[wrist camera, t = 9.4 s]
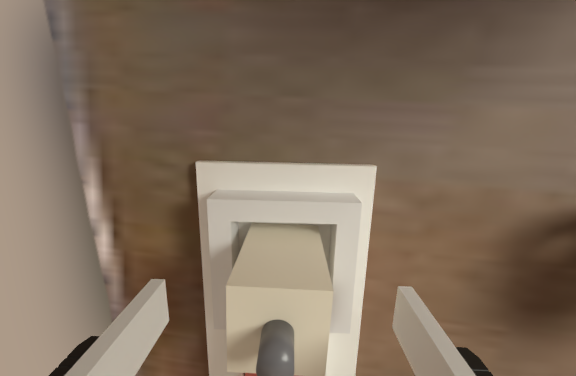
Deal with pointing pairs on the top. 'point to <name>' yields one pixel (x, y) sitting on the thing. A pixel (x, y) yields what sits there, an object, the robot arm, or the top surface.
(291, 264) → the plug
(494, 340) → the top surface
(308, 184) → the socket plate
